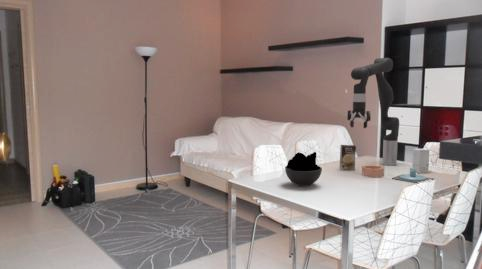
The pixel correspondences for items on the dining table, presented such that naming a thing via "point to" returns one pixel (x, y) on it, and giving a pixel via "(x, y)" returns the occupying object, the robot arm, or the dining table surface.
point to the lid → (412, 176)
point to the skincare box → (421, 160)
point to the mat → (408, 180)
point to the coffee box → (347, 157)
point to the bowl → (372, 171)
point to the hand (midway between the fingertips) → (358, 127)
